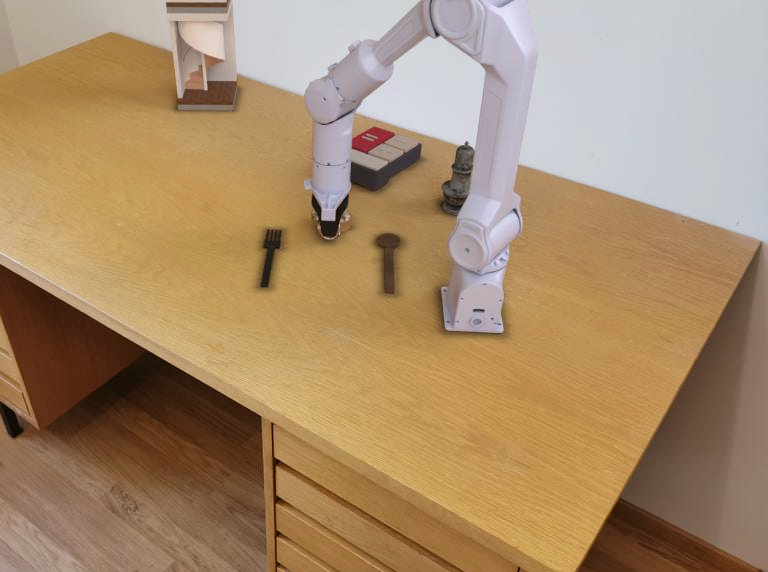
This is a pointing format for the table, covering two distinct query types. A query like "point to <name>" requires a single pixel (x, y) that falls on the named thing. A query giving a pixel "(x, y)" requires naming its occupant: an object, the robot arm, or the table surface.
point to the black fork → (270, 254)
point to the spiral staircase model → (203, 53)
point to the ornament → (343, 224)
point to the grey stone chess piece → (458, 180)
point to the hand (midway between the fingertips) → (329, 234)
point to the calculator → (381, 156)
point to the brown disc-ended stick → (389, 258)
